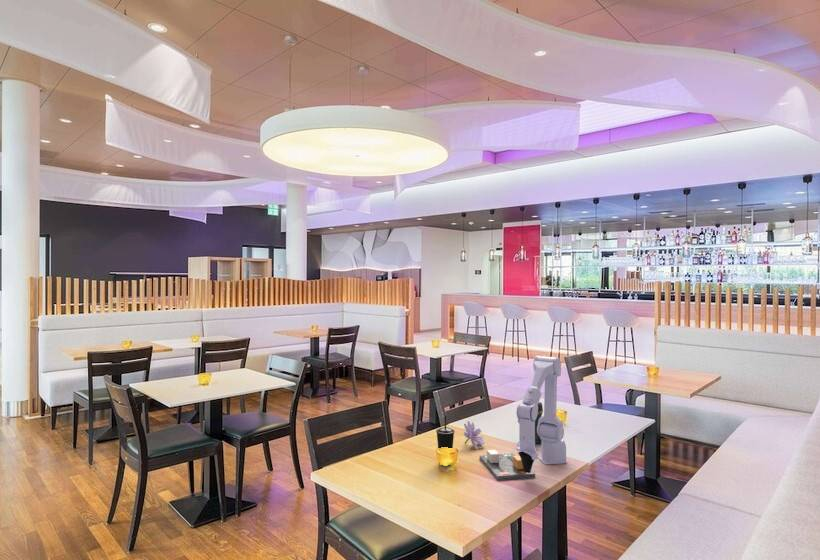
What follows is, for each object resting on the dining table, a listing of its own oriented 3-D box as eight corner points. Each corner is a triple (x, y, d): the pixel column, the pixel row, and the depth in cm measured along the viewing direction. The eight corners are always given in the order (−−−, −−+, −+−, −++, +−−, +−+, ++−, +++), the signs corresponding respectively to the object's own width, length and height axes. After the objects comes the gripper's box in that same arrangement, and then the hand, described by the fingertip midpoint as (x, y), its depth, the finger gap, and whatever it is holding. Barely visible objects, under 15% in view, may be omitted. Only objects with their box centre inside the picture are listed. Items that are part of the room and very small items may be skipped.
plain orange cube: (521, 464, 191) (521, 455, 191) (526, 468, 186) (526, 459, 186) (512, 464, 191) (512, 455, 191) (517, 469, 186) (517, 460, 186)
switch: (495, 458, 198) (495, 449, 198) (499, 462, 193) (499, 453, 193) (487, 458, 197) (486, 450, 197) (490, 463, 192) (490, 454, 192)
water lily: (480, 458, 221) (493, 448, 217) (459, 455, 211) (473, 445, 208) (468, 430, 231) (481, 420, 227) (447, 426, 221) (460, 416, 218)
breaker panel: (513, 456, 204) (513, 453, 204) (535, 477, 182) (535, 473, 182) (479, 459, 201) (479, 455, 201) (497, 480, 180) (497, 475, 180)
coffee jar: (545, 440, 225) (544, 401, 225) (540, 445, 218) (540, 404, 218) (524, 437, 230) (524, 398, 230) (519, 442, 223) (519, 402, 223)
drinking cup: (449, 469, 191) (449, 418, 191) (432, 465, 195) (432, 416, 195) (457, 463, 197) (457, 414, 197) (441, 459, 201) (441, 411, 201)
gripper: (510, 430, 187) (510, 465, 187) (524, 442, 173) (525, 480, 173) (527, 429, 188) (527, 464, 188) (543, 441, 174) (543, 479, 174)
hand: (527, 471), depth 181 cm, fingers closed
